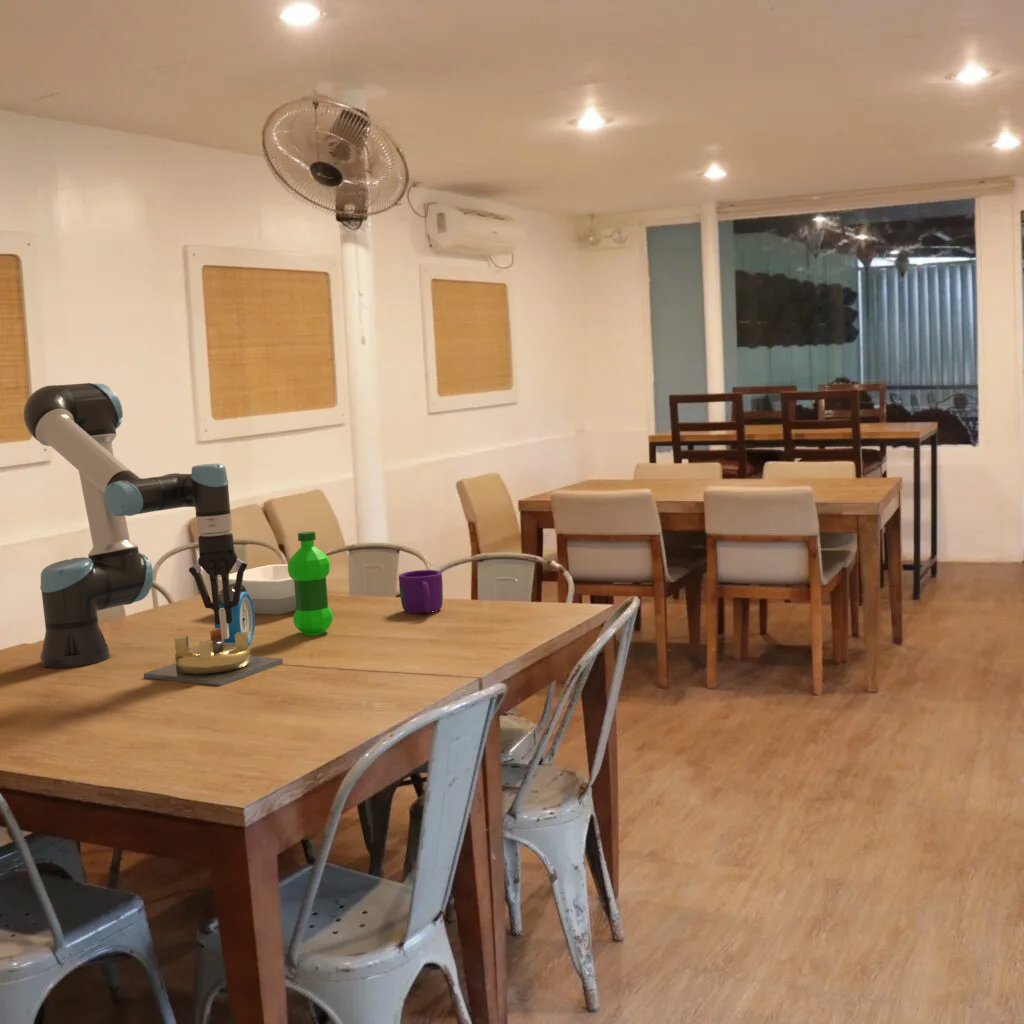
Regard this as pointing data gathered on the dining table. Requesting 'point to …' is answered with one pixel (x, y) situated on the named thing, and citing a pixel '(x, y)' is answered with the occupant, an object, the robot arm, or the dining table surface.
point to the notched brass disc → (212, 654)
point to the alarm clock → (239, 615)
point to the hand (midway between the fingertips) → (225, 637)
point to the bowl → (269, 588)
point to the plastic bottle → (310, 586)
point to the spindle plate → (214, 678)
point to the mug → (421, 591)
